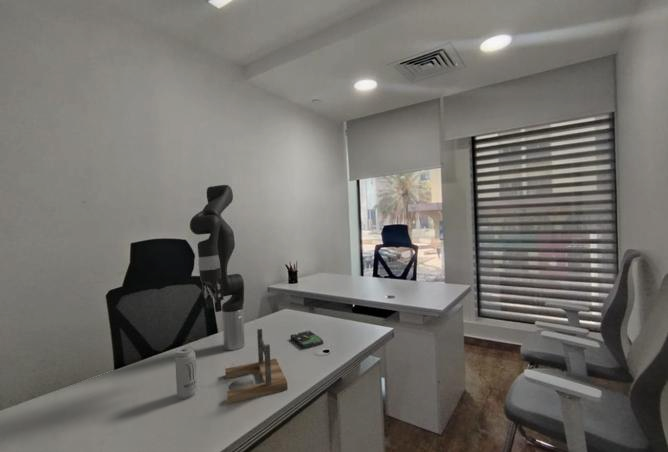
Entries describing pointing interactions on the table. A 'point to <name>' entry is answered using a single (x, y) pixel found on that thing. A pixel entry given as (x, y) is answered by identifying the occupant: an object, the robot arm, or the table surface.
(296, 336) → the disk drive
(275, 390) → the wooden crossbar stand
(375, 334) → the table surface
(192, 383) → the energy drink can
